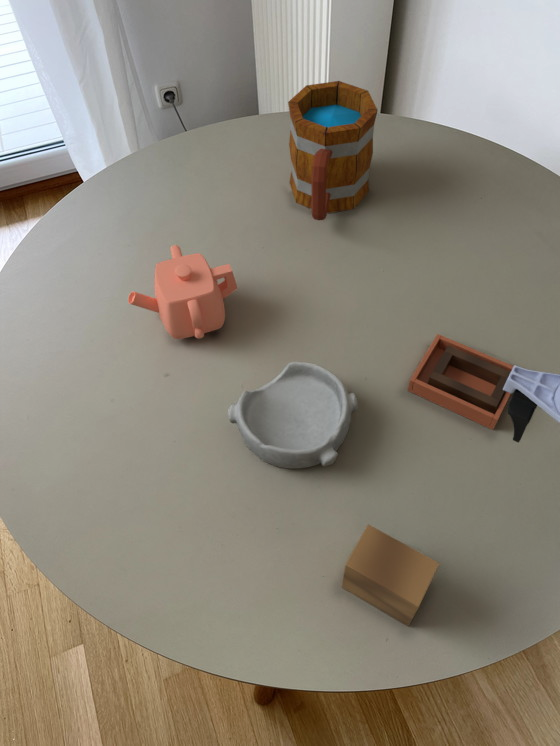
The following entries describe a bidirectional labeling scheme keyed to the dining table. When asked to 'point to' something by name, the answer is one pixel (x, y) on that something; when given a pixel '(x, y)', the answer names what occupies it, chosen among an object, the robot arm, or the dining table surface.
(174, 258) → the teapot
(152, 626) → the dining table surface
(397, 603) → the stand
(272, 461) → the dish
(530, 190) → the dining table surface
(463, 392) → the frame
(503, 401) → the holder
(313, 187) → the mug
